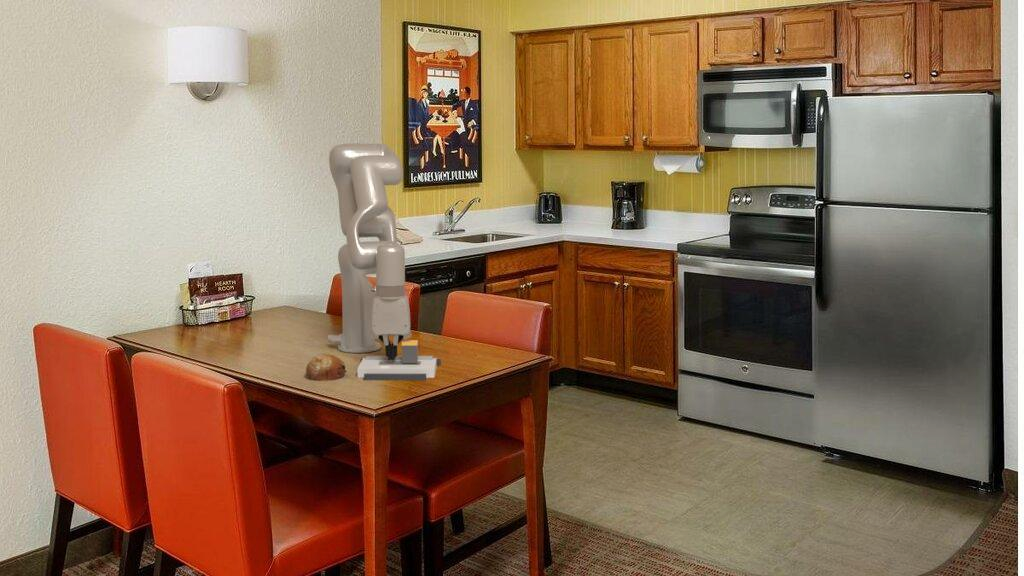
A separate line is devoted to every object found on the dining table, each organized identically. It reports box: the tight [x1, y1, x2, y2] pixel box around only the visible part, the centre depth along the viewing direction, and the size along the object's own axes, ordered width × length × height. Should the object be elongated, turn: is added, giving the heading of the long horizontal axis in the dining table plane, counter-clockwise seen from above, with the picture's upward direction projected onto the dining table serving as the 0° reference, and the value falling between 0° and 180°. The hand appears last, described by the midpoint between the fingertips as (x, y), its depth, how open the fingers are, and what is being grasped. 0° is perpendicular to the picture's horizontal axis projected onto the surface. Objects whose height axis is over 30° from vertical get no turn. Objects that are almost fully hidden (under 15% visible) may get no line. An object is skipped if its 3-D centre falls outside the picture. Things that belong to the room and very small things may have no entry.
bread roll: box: [305, 352, 347, 382], centre depth 253 cm, size 10×10×8 cm
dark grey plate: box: [360, 358, 442, 381], centre depth 259 cm, size 22×18×1 cm
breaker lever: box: [401, 339, 419, 363], centre depth 258 cm, size 4×3×6 cm
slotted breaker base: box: [357, 355, 438, 379], centre depth 258 cm, size 20×12×3 cm, turn 91°
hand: (391, 359), depth 258 cm, fingers closed
